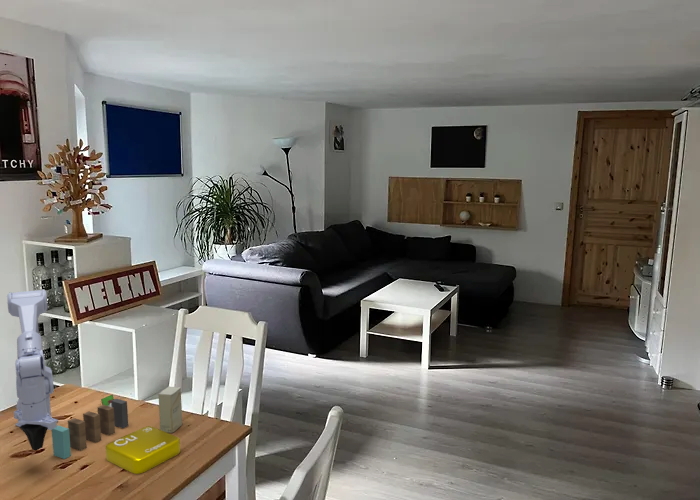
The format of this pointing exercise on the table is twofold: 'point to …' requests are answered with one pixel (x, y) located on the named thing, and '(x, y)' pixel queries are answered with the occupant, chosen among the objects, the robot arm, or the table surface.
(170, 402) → the skincare box
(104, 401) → the geometric puzzle
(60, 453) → the teal domino
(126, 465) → the element tile
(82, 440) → the walnut domino
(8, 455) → the table surface
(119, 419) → the black end domino
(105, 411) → the walnut domino
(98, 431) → the walnut domino
